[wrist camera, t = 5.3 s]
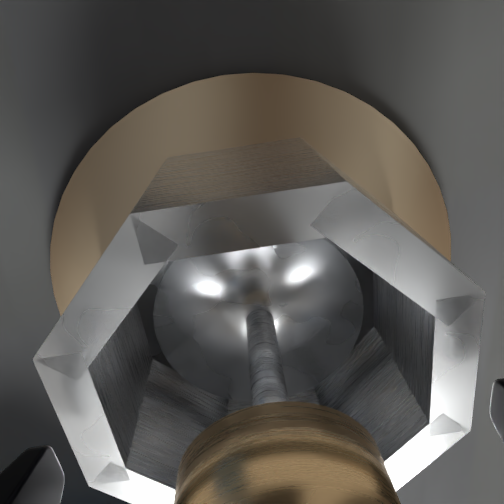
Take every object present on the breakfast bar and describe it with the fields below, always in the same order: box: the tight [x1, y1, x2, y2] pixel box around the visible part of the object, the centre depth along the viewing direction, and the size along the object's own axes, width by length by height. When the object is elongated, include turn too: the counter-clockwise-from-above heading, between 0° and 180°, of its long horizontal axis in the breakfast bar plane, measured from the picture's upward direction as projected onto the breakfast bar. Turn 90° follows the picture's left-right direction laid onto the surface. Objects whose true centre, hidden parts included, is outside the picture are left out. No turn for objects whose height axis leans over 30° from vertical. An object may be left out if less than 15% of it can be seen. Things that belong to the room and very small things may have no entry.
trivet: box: [50, 73, 451, 316], centre depth 14 cm, size 13×13×1 cm
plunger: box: [153, 238, 401, 504], centre depth 9 cm, size 6×6×7 cm
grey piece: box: [33, 137, 486, 504], centre depth 12 cm, size 9×12×5 cm
